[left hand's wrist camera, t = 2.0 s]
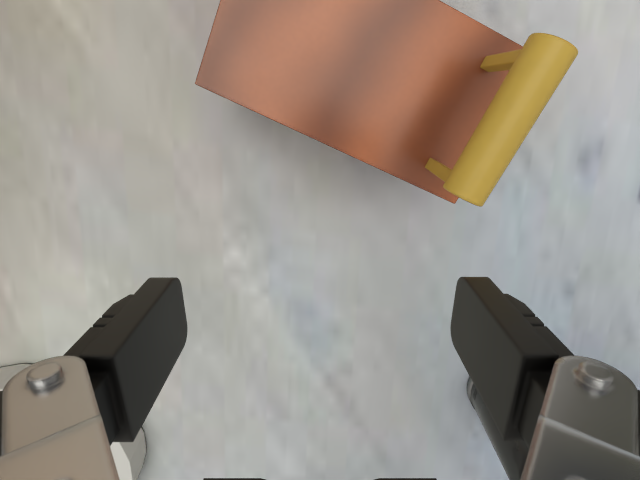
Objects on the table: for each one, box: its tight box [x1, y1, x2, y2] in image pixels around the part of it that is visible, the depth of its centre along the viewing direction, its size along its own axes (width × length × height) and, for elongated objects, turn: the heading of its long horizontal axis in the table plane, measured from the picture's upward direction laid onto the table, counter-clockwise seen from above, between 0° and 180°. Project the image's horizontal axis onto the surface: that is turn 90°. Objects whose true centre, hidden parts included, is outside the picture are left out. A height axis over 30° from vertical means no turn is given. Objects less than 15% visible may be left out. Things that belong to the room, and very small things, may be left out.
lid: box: [195, 0, 578, 206], centre depth 20 cm, size 18×10×9 cm, turn 66°
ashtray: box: [0, 364, 147, 480], centre depth 47 cm, size 23×23×4 cm
